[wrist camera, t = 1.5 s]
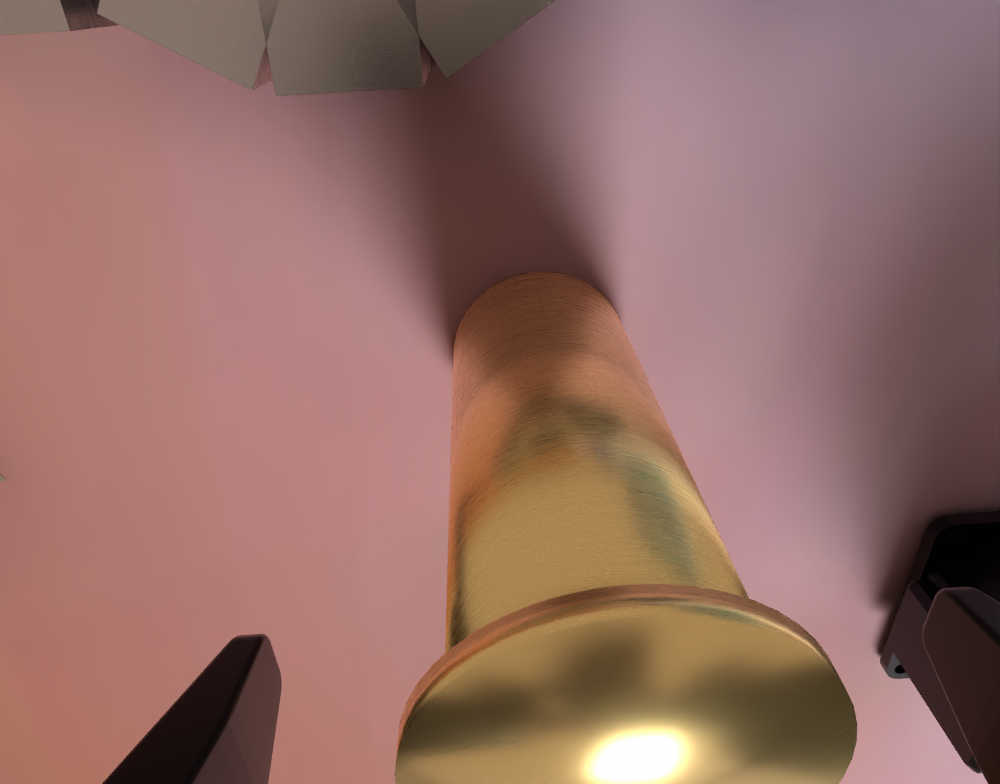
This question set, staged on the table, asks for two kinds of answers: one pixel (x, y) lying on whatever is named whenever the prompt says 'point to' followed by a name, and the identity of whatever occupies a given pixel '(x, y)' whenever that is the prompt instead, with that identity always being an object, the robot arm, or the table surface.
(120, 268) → the table surface
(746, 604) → the brass pin
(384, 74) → the flanged post bracket
